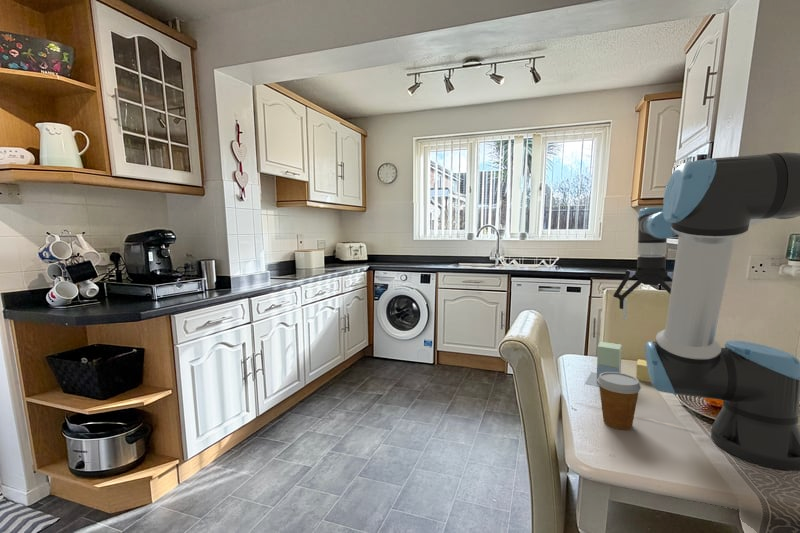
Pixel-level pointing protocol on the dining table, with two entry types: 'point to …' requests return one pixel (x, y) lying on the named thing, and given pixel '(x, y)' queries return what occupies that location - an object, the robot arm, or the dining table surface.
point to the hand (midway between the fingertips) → (649, 321)
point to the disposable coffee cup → (618, 398)
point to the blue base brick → (607, 369)
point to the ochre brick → (642, 371)
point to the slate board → (592, 379)
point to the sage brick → (609, 354)
